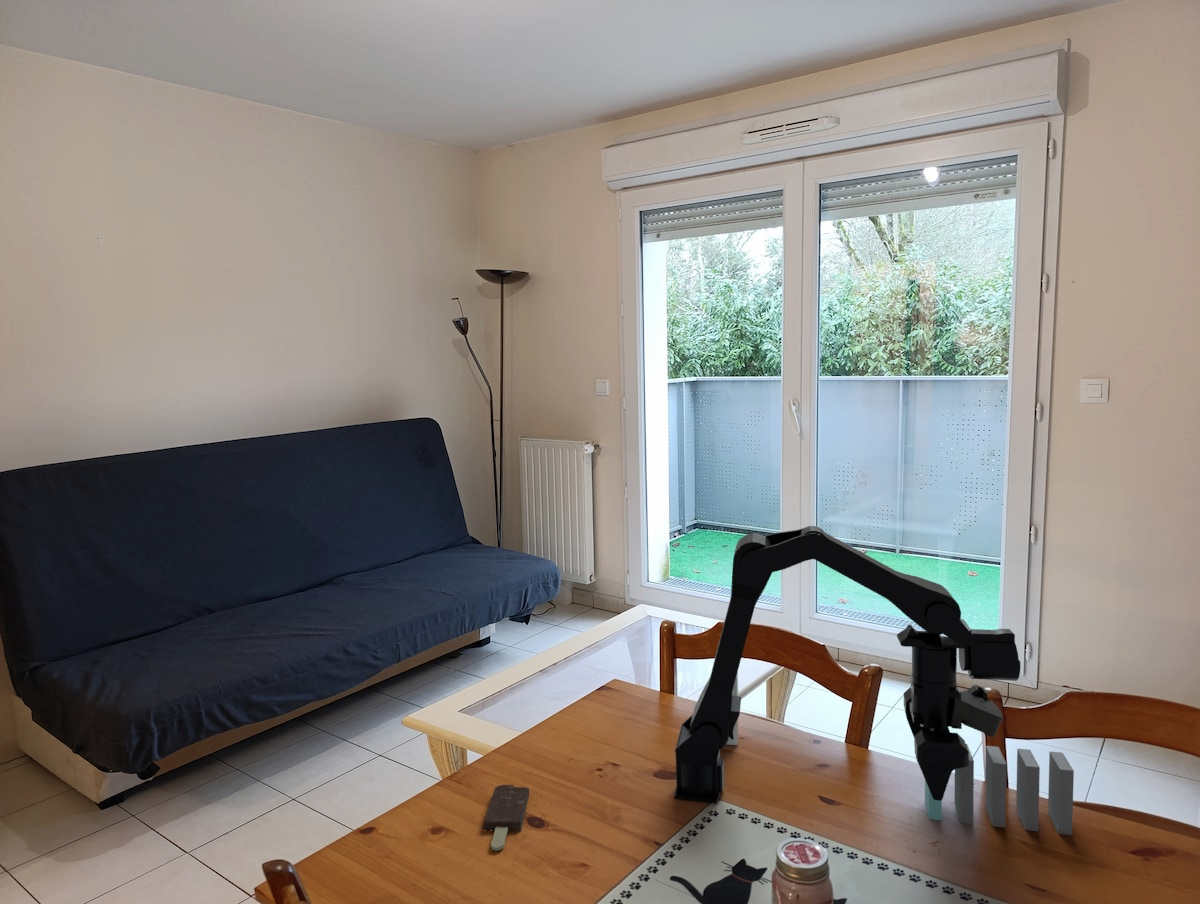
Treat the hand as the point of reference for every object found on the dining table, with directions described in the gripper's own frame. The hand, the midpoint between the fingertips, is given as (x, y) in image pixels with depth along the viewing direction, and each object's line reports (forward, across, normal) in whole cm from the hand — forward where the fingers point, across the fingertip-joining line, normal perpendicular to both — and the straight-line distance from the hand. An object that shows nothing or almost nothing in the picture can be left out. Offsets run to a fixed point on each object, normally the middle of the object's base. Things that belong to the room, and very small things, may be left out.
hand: (932, 782), depth 110 cm
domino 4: (+4, 0, -16) cm, 17 cm away
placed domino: (+4, 0, 0) cm, 4 cm away
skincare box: (+4, +16, +31) cm, 35 cm away
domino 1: (+4, 0, -4) cm, 6 cm away
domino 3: (+4, 0, -12) cm, 13 cm away
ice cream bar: (+5, -16, +59) cm, 61 cm away
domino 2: (+4, 0, -8) cm, 9 cm away
